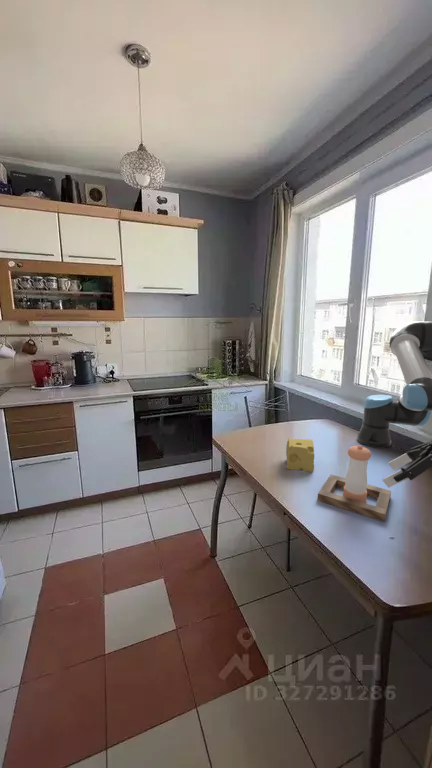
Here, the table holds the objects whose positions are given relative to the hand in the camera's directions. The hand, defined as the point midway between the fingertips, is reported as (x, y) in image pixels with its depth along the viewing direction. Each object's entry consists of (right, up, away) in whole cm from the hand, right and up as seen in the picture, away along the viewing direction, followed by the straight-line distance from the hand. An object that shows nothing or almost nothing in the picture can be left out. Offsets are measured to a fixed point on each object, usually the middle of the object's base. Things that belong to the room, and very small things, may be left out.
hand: (388, 474), depth 99 cm
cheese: (-20, -6, +32) cm, 38 cm away
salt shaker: (-7, -11, +7) cm, 15 cm away
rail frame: (-7, -10, +7) cm, 15 cm away
